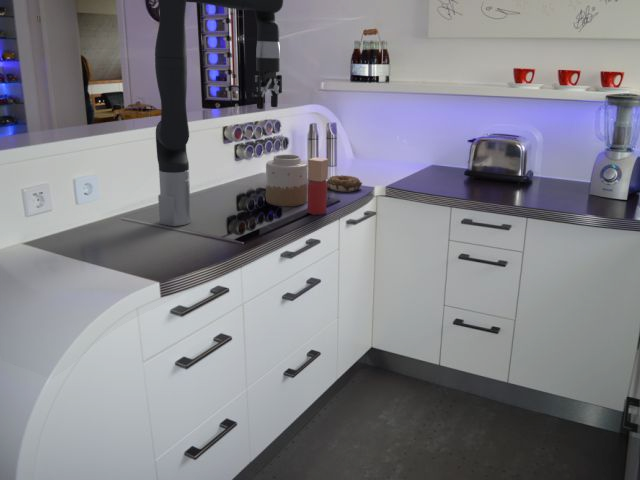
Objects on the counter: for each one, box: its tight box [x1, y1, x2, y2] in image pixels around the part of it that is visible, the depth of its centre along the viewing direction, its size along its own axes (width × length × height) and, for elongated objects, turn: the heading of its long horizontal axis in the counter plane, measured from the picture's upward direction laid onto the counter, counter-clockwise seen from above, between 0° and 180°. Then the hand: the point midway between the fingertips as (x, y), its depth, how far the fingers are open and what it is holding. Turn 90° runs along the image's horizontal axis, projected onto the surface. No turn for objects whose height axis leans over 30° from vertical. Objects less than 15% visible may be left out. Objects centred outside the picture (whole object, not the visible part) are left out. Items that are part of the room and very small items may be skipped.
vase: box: [265, 154, 309, 207], centre depth 222 cm, size 15×15×17 cm
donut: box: [326, 174, 363, 193], centre depth 245 cm, size 14×14×5 cm
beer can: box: [307, 179, 328, 216], centre depth 209 cm, size 7×7×12 cm
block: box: [307, 157, 329, 182], centre depth 206 cm, size 5×5×7 cm
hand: (267, 107), depth 198 cm, fingers open, 8 cm apart
